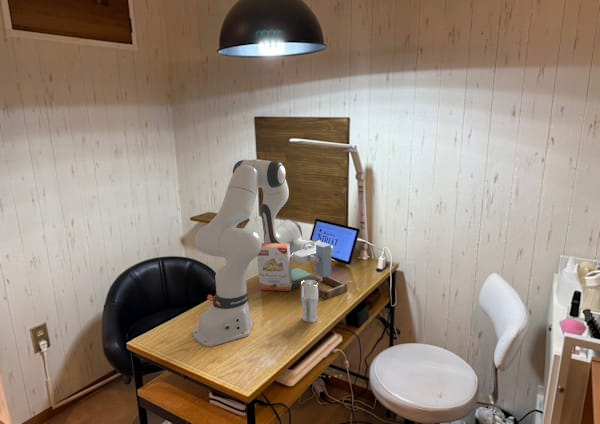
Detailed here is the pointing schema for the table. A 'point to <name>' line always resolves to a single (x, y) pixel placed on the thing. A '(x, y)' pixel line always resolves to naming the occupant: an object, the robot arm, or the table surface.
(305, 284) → the beer glass
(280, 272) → the cracker box
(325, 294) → the dark wooden tray
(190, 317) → the table surface
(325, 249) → the slate block
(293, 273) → the green felt pad
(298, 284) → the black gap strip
